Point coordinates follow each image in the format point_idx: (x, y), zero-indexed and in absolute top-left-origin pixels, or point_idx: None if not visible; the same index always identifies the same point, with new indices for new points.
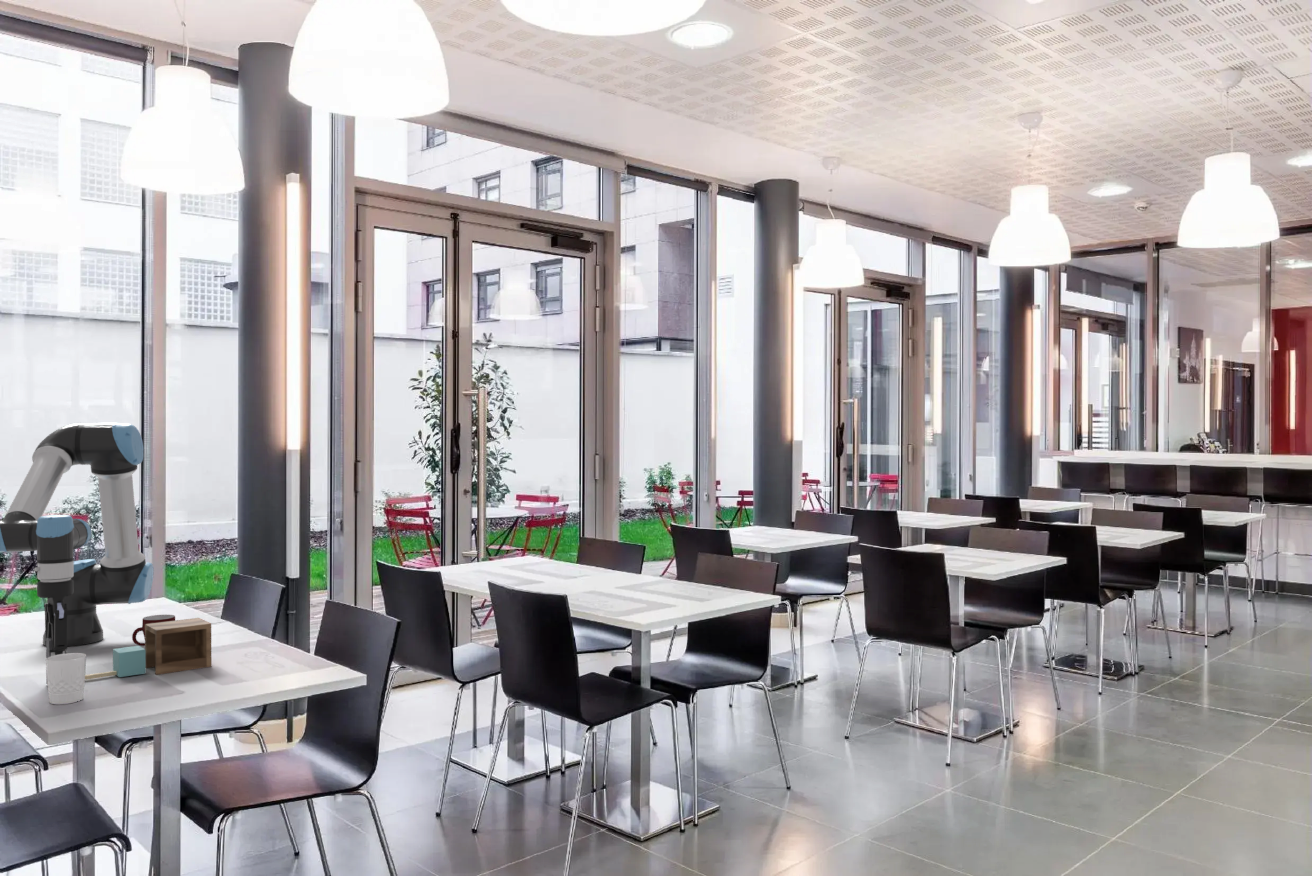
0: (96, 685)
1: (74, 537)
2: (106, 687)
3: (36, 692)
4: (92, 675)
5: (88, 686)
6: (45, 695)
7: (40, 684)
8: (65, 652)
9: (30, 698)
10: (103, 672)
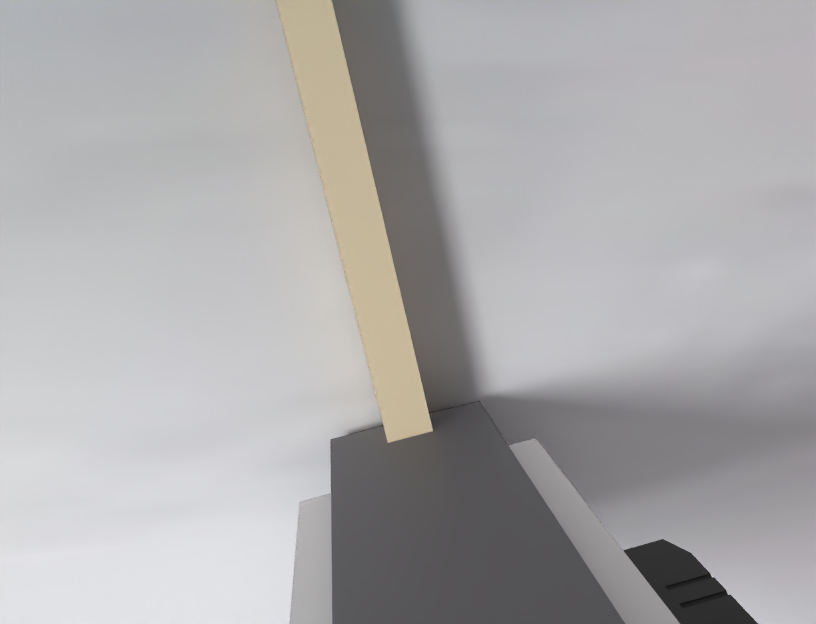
0: (631, 113)
1: None
2: (779, 13)
3: None
4: (367, 155)
5: (632, 190)
6: (773, 523)
7: None
8: (622, 621)
9: (807, 617)
10: (287, 24)
